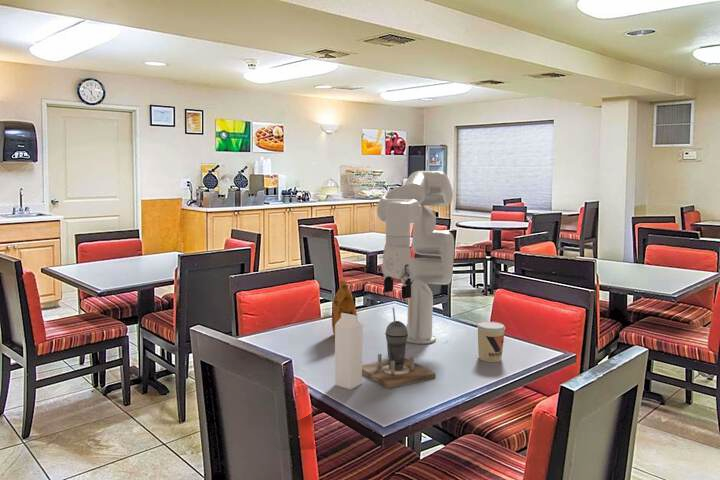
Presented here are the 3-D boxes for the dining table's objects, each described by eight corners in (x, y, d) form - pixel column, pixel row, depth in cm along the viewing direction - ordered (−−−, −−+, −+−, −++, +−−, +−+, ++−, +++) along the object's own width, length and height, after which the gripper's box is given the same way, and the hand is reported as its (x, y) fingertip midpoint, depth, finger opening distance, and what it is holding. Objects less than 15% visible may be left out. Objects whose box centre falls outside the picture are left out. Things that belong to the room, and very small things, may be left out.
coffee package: (332, 343, 214) (332, 285, 211) (331, 333, 226) (331, 279, 224) (359, 342, 215) (359, 285, 212) (356, 333, 227) (356, 278, 224)
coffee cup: (488, 364, 192) (489, 330, 190) (470, 356, 200) (471, 323, 198) (509, 360, 196) (511, 326, 194) (491, 352, 204) (492, 320, 203)
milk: (346, 379, 178) (347, 310, 175) (362, 384, 174) (363, 313, 171) (334, 385, 173) (334, 314, 170) (350, 390, 169) (350, 317, 166)
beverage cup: (406, 373, 178) (407, 311, 176) (383, 371, 180) (383, 310, 177) (408, 365, 185) (409, 305, 183) (386, 364, 187) (387, 304, 184)
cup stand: (357, 370, 185) (357, 352, 185) (402, 361, 195) (402, 344, 194) (387, 388, 170) (388, 369, 169) (435, 377, 179) (435, 359, 179)
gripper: (372, 238, 182) (372, 290, 185) (404, 245, 168) (403, 302, 170) (392, 237, 186) (391, 288, 189) (424, 243, 172) (423, 299, 174)
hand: (397, 294), depth 179 cm, fingers open, 9 cm apart
